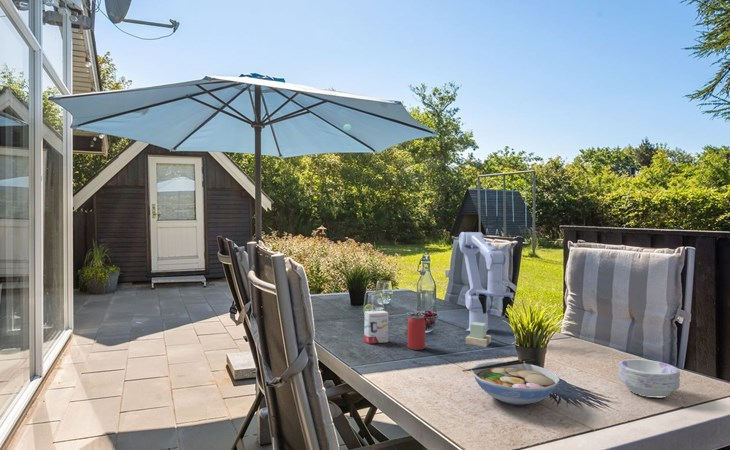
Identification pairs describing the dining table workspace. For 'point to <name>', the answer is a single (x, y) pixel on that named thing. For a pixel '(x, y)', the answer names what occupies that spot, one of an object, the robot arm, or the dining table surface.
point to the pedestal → (478, 341)
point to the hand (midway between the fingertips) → (494, 314)
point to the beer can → (416, 332)
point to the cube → (478, 330)
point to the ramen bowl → (515, 381)
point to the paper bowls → (648, 377)
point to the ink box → (376, 327)
